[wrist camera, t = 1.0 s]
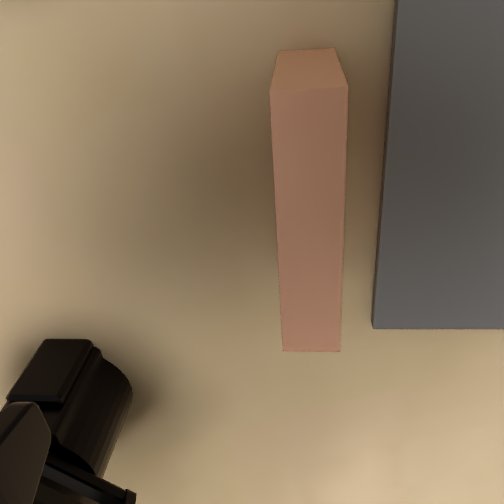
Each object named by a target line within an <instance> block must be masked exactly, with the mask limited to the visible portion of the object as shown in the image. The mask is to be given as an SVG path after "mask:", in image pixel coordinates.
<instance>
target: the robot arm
mask: <svg viewBox="0 0 504 504" xmlns="http://www.w3.org/2000/svg"><path fill="white" fill-rule="evenodd" d="M132 396H133V393H132V388H131V385H130V383H129V381H128V379H127V378H126V376H125V375H124V374H123V373H122V372H121V371H120V370H119V369H118V368H117V367H116V366H114V365H113V364H112V363H110V362H108V361H107V360H105V359H104V358H103V357H102V354H101V351H100V349H98V348H96V347H93V345H92V342H91V341H89V340H44V341H43V342H42V344H41V345H40V347H39V348H38V350H37V351H36V353H35V354H34V356H33V357H32V359H31V360H30V362H29V363H28V365H27V366H26V368H25V369H24V371H23V372H22V374H21V375H20V377H19V378H18V380H17V381H16V383H15V384H14V386H13V387H12V389H11V390H10V392H9V393H8V395H7V397H6V399H7V402H6V404H5V405H4V407H3V408H2V410H1V411H0V504H135V502H136V493H134V492H132V491H130V490H128V489H126V490H124V489H122V488H120V487H118V486H116V485H114V484H112V483H110V482H108V481H106V480H104V479H102V478H103V475H104V473H105V470H106V467H107V465H108V462H109V460H110V457H111V454H112V452H113V449H114V446H115V444H116V441H117V438H118V436H119V433H120V431H121V428H122V425H123V423H124V420H125V417H126V415H127V412H128V409H129V407H130V404H131V402H132Z"/></svg>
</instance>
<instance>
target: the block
mask: <svg viewBox="0 0 504 504" xmlns="http://www.w3.org/2000/svg"><path fill="white" fill-rule="evenodd" d="M269 93H270V112H271V132H272V151H273V171H274V190H275V210H276V229H277V249H278V268H279V288H280V307H281V326H282V346H283V351H311V352H340V335H341V304H342V273H343V242H344V211H345V180H346V149H347V118H348V84H347V81H346V79H345V76H344V73H343V70H342V68H341V65H340V62H339V60H338V57H337V54H336V51H335V49H334V48H327V49H310V50H294V51H278V55H277V59H276V64H275V68H274V73H273V77H272V82H271V86H270V91H269Z"/></svg>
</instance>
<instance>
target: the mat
mask: <svg viewBox="0 0 504 504" xmlns="http://www.w3.org/2000/svg"><path fill="white" fill-rule="evenodd" d="M371 321H372V327H373V329H504V0H395V11H394V25H393V38H392V51H391V65H390V78H389V92H388V105H387V118H386V132H385V145H384V159H383V172H382V185H381V199H380V212H379V226H378V239H377V252H376V266H375V279H374V293H373V306H372V319H371Z"/></svg>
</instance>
